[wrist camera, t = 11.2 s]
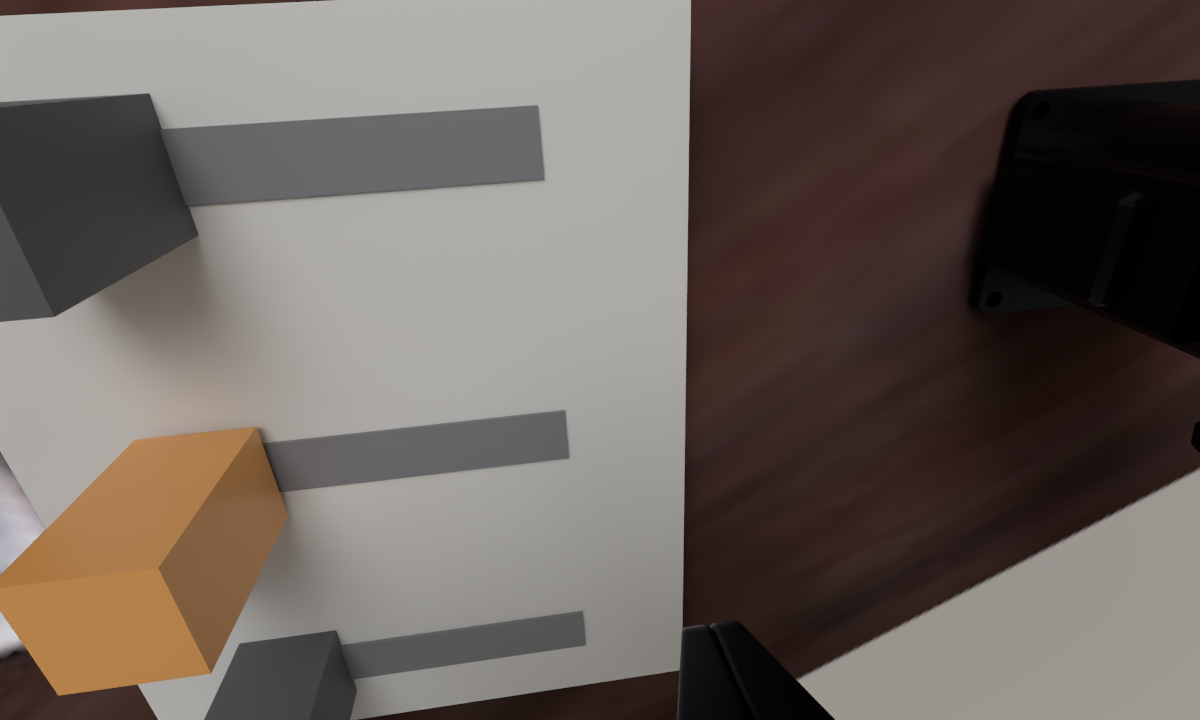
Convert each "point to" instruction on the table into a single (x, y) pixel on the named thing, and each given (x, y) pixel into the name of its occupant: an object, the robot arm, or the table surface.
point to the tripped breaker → (148, 563)
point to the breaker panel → (371, 322)
